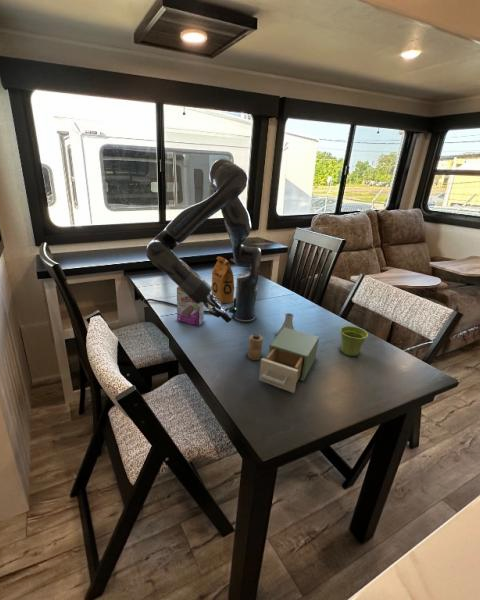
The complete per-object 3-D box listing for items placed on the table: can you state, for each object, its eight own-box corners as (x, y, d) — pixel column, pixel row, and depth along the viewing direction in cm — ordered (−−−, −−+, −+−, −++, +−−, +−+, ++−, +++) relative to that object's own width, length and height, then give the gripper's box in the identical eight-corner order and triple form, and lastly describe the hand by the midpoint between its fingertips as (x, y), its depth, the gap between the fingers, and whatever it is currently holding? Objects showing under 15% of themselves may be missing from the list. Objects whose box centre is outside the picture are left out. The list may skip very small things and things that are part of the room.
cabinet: (303, 381, 101) (307, 356, 97) (267, 368, 107) (269, 344, 103) (314, 359, 112) (319, 336, 109) (281, 349, 118) (284, 327, 115)
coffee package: (218, 305, 155) (220, 263, 147) (209, 296, 166) (210, 256, 157) (236, 302, 159) (238, 261, 150) (226, 294, 169) (227, 254, 161)
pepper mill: (245, 357, 113) (247, 336, 109) (251, 351, 117) (253, 330, 113) (257, 361, 111) (259, 339, 107) (262, 355, 114) (264, 334, 111)
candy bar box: (176, 321, 138) (175, 287, 132) (182, 316, 143) (181, 283, 136) (199, 326, 134) (199, 291, 128) (204, 322, 138) (204, 287, 132)
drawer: (288, 402, 90) (292, 380, 87) (252, 388, 96) (254, 367, 93) (306, 370, 105) (309, 351, 102) (274, 360, 110) (276, 341, 107)
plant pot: (361, 361, 112) (366, 341, 108) (333, 353, 116) (338, 333, 113) (364, 350, 119) (369, 330, 116) (338, 343, 124) (343, 323, 120)
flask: (285, 342, 123) (288, 320, 119) (273, 334, 129) (276, 312, 125) (299, 338, 126) (302, 316, 122) (287, 330, 132) (290, 309, 128)
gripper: (202, 286, 96) (239, 322, 100) (202, 272, 108) (235, 305, 113) (185, 301, 98) (222, 336, 103) (187, 286, 110) (220, 318, 115)
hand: (229, 319), depth 108 cm, fingers closed
